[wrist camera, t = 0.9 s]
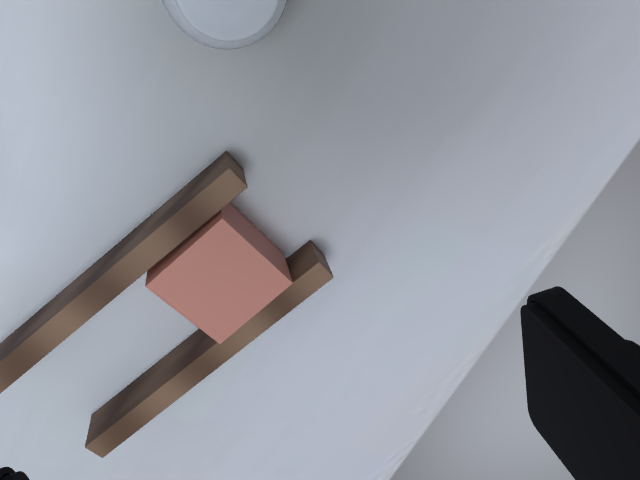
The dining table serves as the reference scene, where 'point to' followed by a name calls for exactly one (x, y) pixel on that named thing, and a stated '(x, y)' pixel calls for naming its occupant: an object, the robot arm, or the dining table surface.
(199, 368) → the walnut chute
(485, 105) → the dining table surface
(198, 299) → the pink square block
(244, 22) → the supplement bottle
